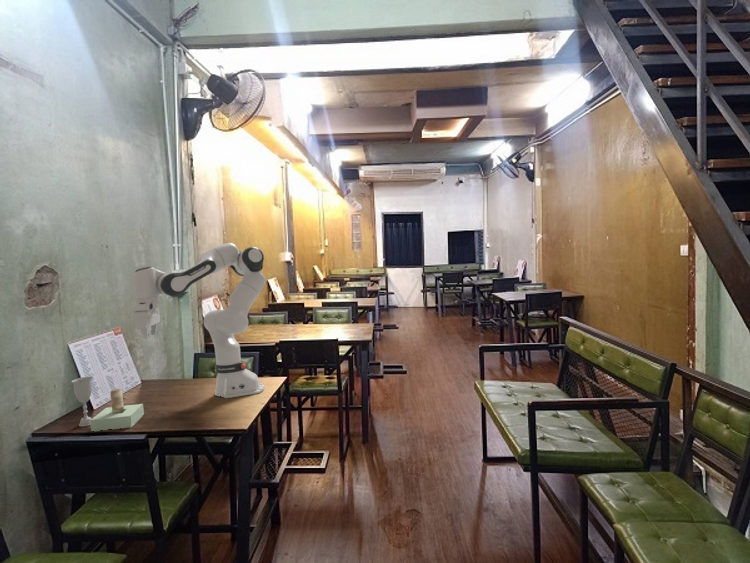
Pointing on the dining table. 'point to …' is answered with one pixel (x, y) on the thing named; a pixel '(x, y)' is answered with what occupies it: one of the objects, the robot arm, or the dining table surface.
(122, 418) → the socket block
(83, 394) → the chalice
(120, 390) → the peg
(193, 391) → the dining table surface
